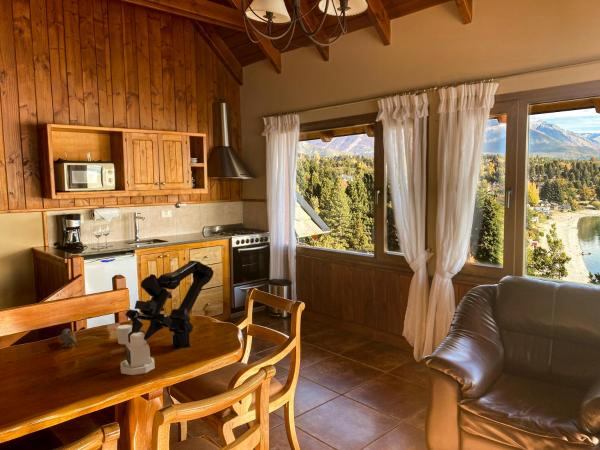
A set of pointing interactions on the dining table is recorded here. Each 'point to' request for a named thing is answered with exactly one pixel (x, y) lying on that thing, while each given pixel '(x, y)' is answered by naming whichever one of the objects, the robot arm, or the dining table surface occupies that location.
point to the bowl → (137, 368)
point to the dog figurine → (67, 337)
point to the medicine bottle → (137, 349)
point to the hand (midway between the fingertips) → (138, 338)
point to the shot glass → (123, 333)
